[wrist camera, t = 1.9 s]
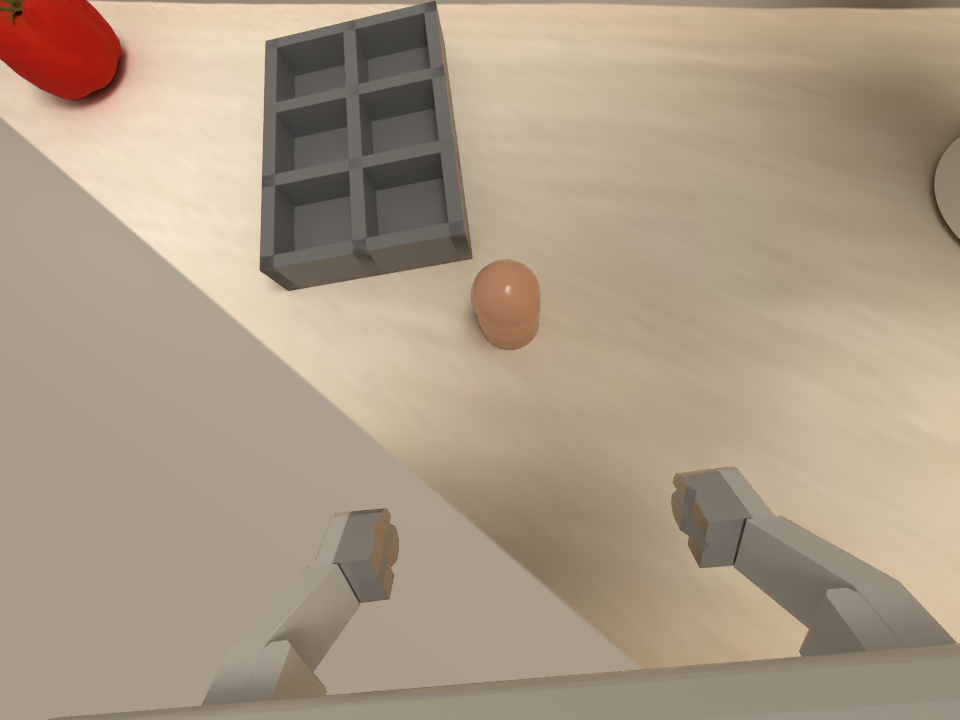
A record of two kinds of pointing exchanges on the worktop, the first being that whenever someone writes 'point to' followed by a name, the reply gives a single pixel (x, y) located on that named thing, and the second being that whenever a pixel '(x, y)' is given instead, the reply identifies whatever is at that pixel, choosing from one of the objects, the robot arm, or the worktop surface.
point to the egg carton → (360, 152)
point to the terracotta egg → (507, 303)
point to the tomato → (58, 45)
